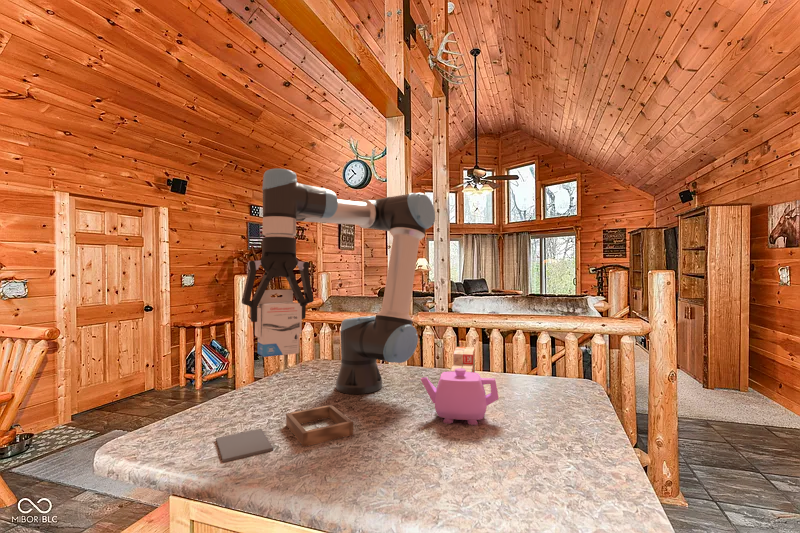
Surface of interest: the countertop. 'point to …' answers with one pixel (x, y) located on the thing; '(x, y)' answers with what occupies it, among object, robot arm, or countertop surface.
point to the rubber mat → (243, 445)
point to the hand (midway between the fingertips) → (278, 334)
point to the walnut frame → (324, 433)
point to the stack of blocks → (464, 359)
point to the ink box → (279, 324)
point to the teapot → (461, 395)
